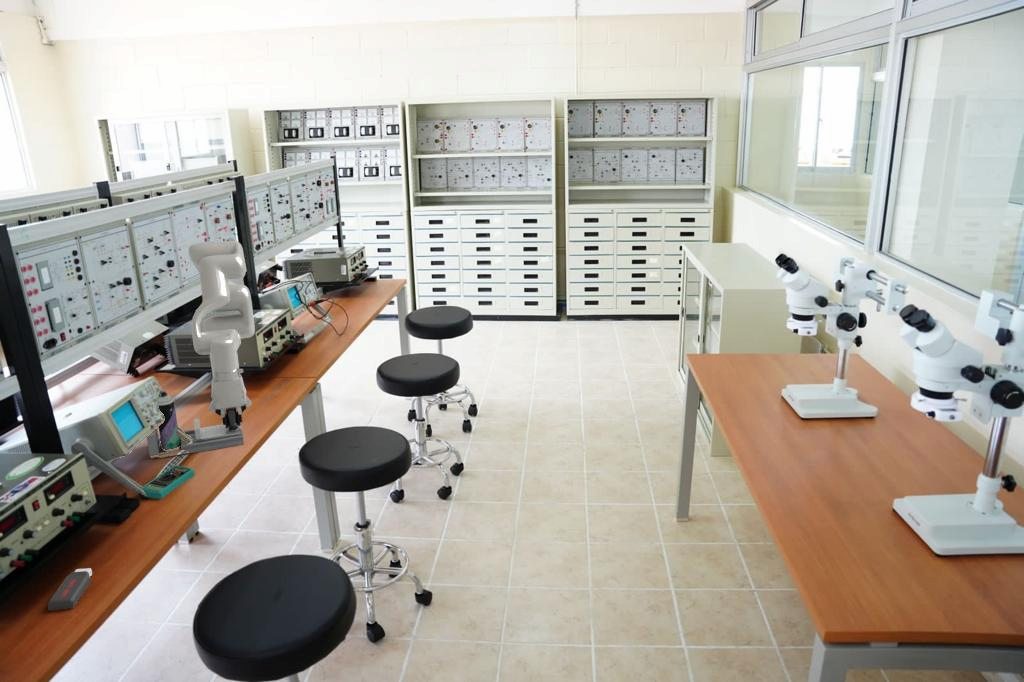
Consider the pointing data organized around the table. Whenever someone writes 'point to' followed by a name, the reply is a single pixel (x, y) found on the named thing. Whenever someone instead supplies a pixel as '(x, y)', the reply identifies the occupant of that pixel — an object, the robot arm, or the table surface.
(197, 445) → the vise frame
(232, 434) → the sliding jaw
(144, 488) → the digital multimeter
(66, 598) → the usb drive
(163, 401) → the spray can
